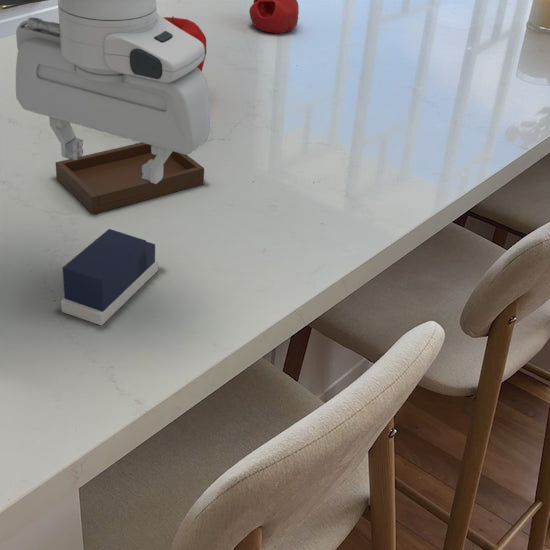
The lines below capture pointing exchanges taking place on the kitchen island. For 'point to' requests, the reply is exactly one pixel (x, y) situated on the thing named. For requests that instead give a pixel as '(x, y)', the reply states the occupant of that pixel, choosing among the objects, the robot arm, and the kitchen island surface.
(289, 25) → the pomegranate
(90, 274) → the whiteboard eraser
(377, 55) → the kitchen island surface
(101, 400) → the kitchen island surface
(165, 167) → the wooden tray
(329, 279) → the kitchen island surface
